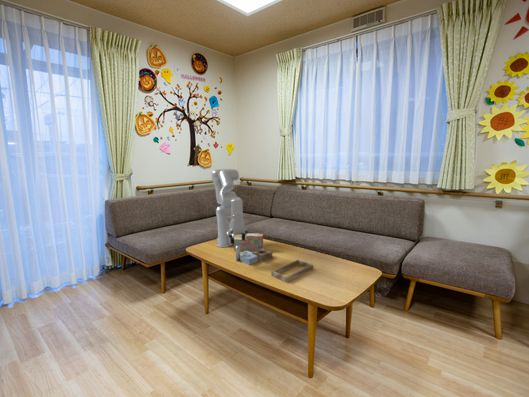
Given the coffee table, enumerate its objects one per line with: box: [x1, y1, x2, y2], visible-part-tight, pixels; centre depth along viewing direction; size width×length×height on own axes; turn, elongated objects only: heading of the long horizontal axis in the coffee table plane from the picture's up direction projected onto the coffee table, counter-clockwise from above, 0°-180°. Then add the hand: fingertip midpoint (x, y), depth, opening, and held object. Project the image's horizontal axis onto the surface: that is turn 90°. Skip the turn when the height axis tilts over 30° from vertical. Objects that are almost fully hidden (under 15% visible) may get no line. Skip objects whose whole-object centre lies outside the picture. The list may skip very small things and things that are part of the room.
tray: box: [240, 251, 253, 258], centre depth 197 cm, size 8×8×2 cm
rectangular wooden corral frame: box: [270, 259, 314, 283], centre depth 170 cm, size 12×25×3 cm, turn 135°
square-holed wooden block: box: [251, 248, 273, 262], centre depth 194 cm, size 10×10×4 cm
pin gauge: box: [235, 246, 241, 262], centre depth 189 cm, size 3×3×10 cm
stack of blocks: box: [233, 232, 264, 252], centre depth 209 cm, size 21×6×12 cm, turn 85°
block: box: [240, 253, 259, 266], centre depth 187 cm, size 8×8×4 cm
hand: (238, 242), depth 187 cm, fingers open, 9 cm apart
